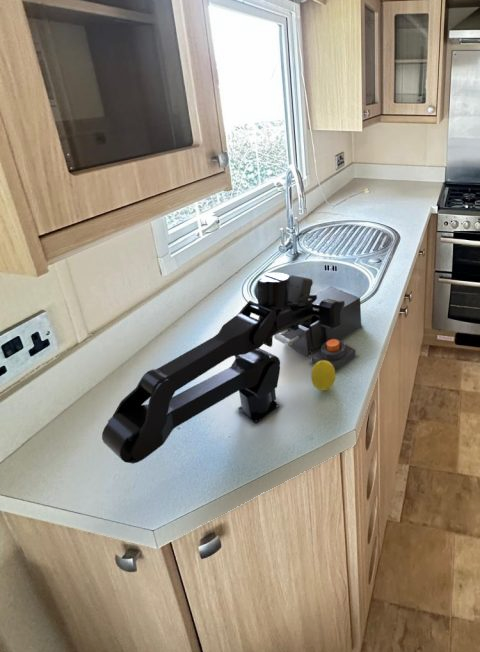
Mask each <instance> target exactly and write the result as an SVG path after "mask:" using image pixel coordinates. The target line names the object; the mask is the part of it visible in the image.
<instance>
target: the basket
mask: <svg viewBox="0 0 480 652" xmlns="http://www.w3.org/2000/svg"><path fill="white" fill-rule="evenodd" d="M298 326H299V329H298V330H292V329H289V330H286V331H284V332H282V333H279V334H277V335H274V336H273V337H274V340H277V341H278V342H280V343H282V344H284V346H287V347H290V348H292V349H293V350H295V351H297V352H298V353H300V354H303V355H304V356H305V357H308V358H309V357H311V356H313V355H312V354H313V353H312V351H315V350H316V349H318V348H319V347H322V346H321V345H322V344H324V343H325V334H324V327H322V326H321V325H320V324H319V318H318V317H316V316H314V315H313V317H312V318H311V324H309V325H307V324H301V325H298Z"/></svg>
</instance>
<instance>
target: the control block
mask: <svg viewBox="0 0 480 652" xmlns="http://www.w3.org/2000/svg"><path fill="white" fill-rule="evenodd" d="M338 341H339V340H338ZM339 346H340V348H339V350H338V351H334V352H329V351H328V350H327V342H325V343H324V344H322V346H320V350H319V351H317V352H316V353H314V354H313V355H310V357H311V358H310V359H311V364H312V365H313V366H314V365H315V364H316V363H317V362H318V361H321V360H326V361H329V362H330V363H331V364H332V365H333V367H334V369H335V372H337V371H338V370H340V369H341V368H343V367H344V366H345V365H347V364H348V363H349V362H351V361H352V360H354V358H356V355H357V352H356V351H357V350H356V349H355V348H353V347H351V346H349V345H348V344H345V342H343V341H342V340H340V341H339Z"/></svg>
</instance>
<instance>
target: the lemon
mask: <svg viewBox="0 0 480 652" xmlns="http://www.w3.org/2000/svg"><path fill="white" fill-rule="evenodd" d="M311 368H312V369H311V373H310V378H311V383H312V385H313V387H315V389H317V390H319V391H328V390H330V389H331V388H332V387H333V386H334V384H335V382H336V377H337V376H336V371H335V369H334V367H333V365H332V364H331V363H330V362H329V361H326V360H321V361H318V362H317V363H316V364H315V365H314V364H313V366H312V367H311Z"/></svg>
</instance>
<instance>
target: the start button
mask: <svg viewBox="0 0 480 652" xmlns="http://www.w3.org/2000/svg"><path fill="white" fill-rule="evenodd" d="M339 348H340V346H339V341H338V340H337V339H331V340H328V341H327V350H328V351H329V352H334V351H338V350H339Z"/></svg>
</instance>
